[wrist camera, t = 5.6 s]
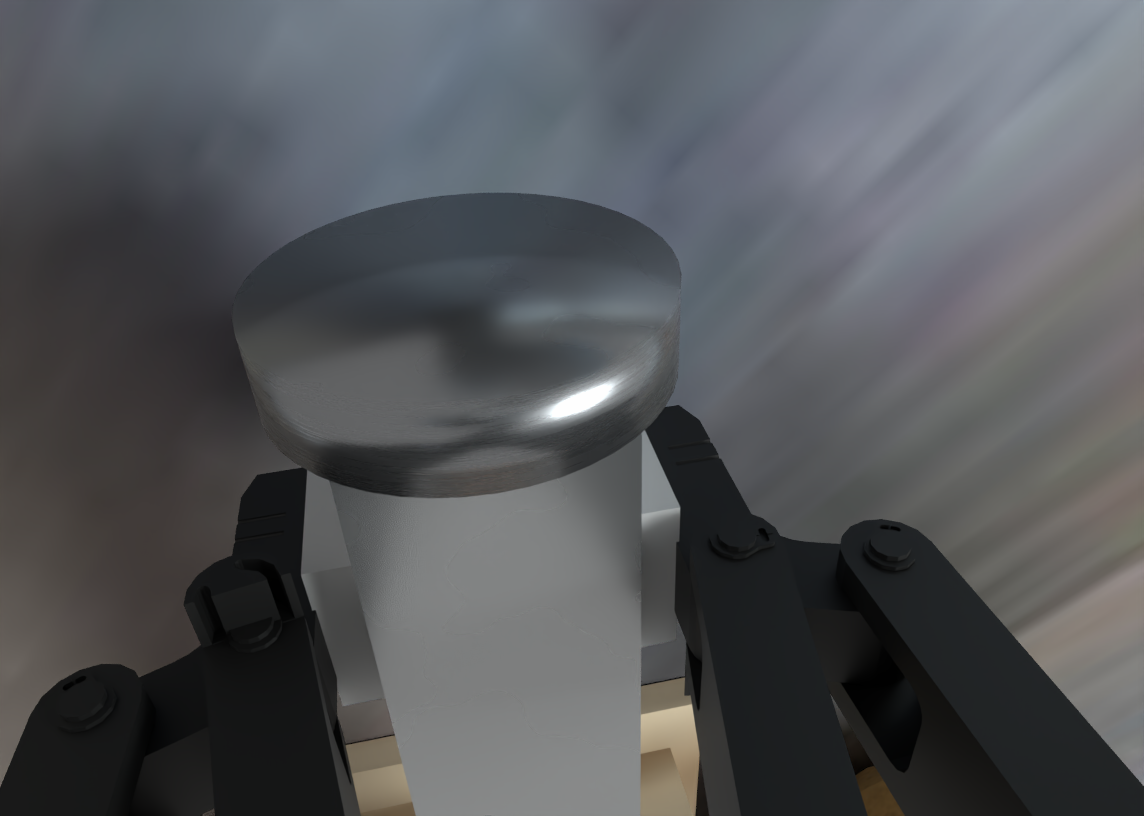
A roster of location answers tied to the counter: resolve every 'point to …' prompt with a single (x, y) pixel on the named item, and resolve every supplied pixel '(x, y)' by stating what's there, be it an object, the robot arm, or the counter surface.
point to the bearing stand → (662, 760)
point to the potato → (876, 794)
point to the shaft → (483, 474)
